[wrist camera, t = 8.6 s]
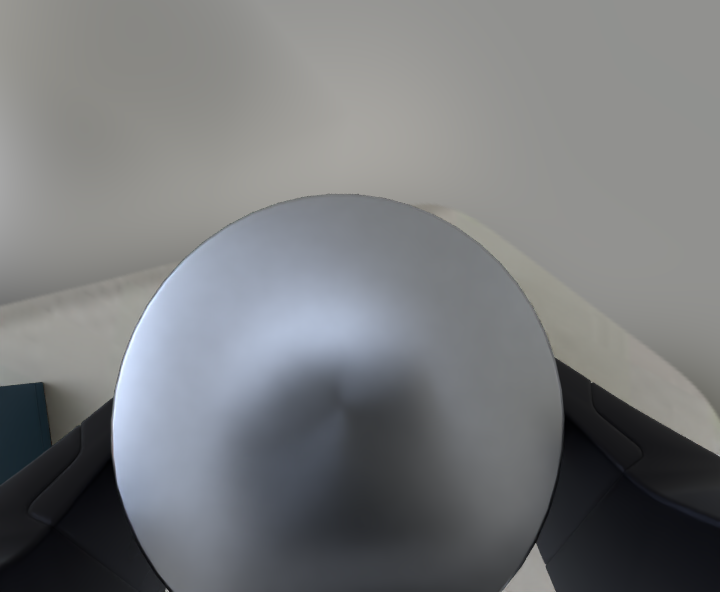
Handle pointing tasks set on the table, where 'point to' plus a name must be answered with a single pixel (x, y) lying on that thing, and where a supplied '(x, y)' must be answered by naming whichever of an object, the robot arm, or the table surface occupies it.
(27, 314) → the table surface
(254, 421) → the tin can
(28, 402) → the tote
